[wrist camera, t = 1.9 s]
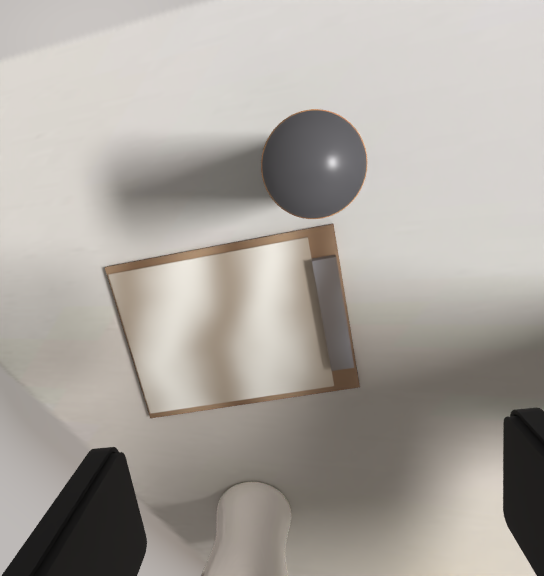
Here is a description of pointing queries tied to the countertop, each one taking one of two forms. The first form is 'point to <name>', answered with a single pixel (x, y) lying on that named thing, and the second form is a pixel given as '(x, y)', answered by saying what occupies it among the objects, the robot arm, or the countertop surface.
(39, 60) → the countertop surface
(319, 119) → the grey rounded cylinder
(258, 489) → the beer glass
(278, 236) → the clipboard
